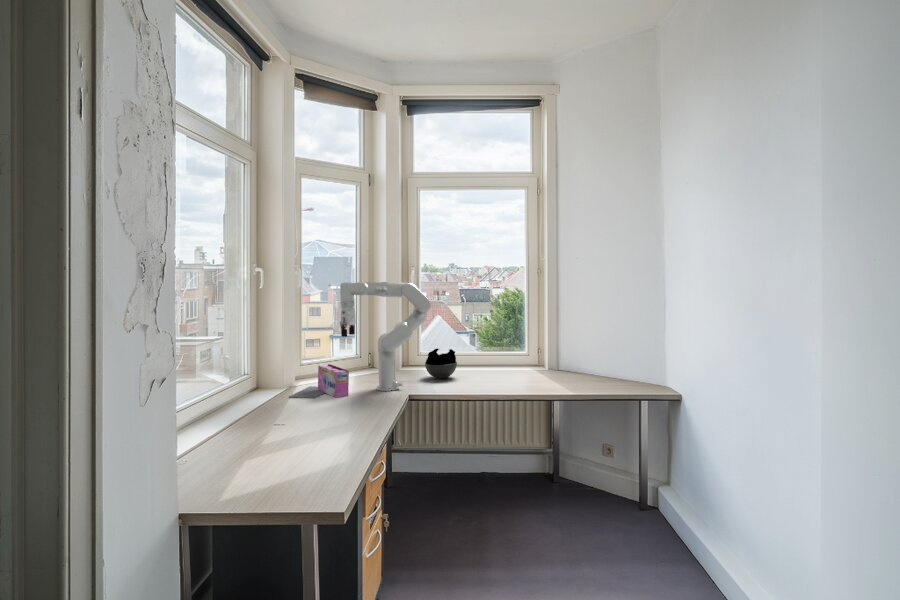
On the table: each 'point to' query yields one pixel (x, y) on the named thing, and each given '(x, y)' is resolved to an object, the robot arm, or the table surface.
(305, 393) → the charcoal mat
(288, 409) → the table surface
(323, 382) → the pink multipack carton
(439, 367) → the bowl of black rocks
